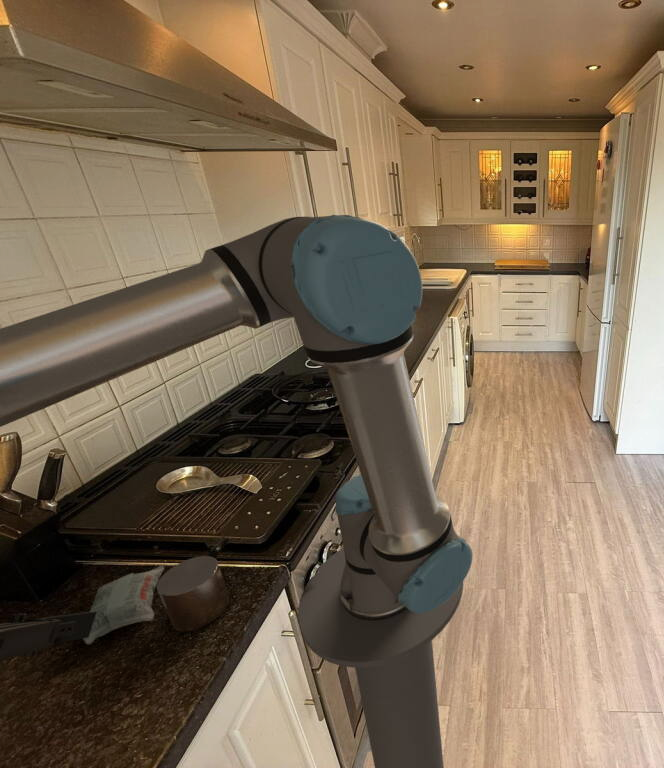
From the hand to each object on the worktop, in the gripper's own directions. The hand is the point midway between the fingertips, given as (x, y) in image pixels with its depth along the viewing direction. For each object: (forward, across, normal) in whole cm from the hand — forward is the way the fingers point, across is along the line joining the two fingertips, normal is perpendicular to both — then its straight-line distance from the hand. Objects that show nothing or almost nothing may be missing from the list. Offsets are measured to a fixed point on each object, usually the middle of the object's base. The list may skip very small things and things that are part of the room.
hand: (86, 624), depth 49 cm
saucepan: (+25, -1, +2) cm, 25 cm away
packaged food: (+23, -12, 0) cm, 26 cm away
